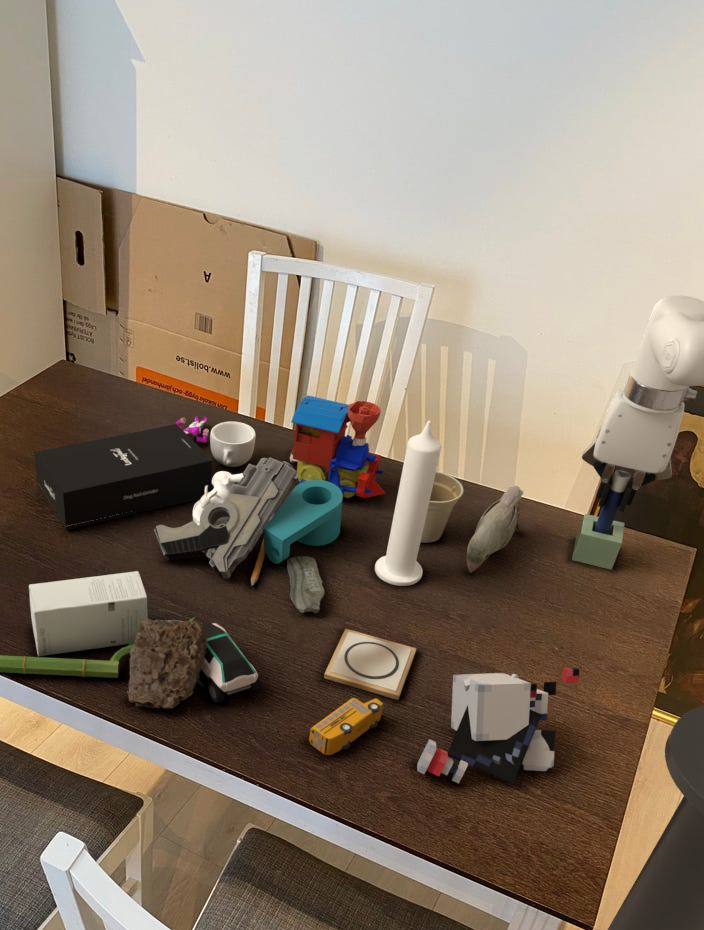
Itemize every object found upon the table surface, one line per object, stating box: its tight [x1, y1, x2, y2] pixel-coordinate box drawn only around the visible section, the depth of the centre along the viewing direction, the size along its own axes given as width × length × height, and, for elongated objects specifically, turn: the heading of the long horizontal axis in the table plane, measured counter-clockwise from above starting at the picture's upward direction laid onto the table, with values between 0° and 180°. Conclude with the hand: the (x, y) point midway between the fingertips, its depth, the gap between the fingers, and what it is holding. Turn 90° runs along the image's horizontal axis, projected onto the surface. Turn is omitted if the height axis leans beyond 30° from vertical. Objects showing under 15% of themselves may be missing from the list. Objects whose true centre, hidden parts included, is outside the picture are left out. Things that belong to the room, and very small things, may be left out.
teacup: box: [209, 421, 257, 468], centre depth 160 cm, size 10×8×5 cm
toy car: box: [200, 622, 260, 703], centre depth 120 cm, size 6×12×5 cm, turn 27°
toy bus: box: [308, 697, 384, 756], centre depth 114 cm, size 3×10×4 cm
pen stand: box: [571, 513, 626, 571], centre depth 145 cm, size 6×6×5 cm
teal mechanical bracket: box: [263, 480, 344, 565], centre depth 143 cm, size 7×15×8 cm
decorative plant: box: [0, 616, 205, 688], centre depth 121 cm, size 6×8×30 cm
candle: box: [374, 420, 442, 587], centre depth 132 cm, size 7×7×25 cm
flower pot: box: [420, 470, 464, 544], centre depth 146 cm, size 9×9×9 cm
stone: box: [286, 555, 325, 614], centre depth 136 cm, size 12×2×5 cm
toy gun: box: [153, 457, 299, 580], centre depth 140 cm, size 4×21×15 cm
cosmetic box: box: [28, 570, 149, 657], centre depth 124 cm, size 8×6×15 cm
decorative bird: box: [466, 485, 524, 573], centre depth 144 cm, size 5×16×8 cm, turn 147°
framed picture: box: [323, 628, 417, 701], centre depth 124 cm, size 10×10×1 cm
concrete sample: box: [126, 618, 207, 710], centre depth 117 cm, size 12×10×5 cm
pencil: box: [250, 513, 275, 587], centre depth 143 cm, size 1×1×19 cm
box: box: [33, 423, 213, 531], centre depth 151 cm, size 25×14×7 cm, turn 117°
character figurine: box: [175, 415, 210, 444], centre depth 166 cm, size 6×5×12 cm
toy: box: [416, 667, 580, 786], centre depth 112 cm, size 12×17×15 cm
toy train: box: [290, 394, 386, 499], centre depth 153 cm, size 10×16×15 cm, turn 68°
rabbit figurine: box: [192, 470, 244, 525], centre depth 144 cm, size 12×8×10 cm, turn 149°
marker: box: [594, 469, 632, 535], centre depth 141 cm, size 2×2×13 cm
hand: (611, 503), depth 140 cm, fingers closed on marker, 2 cm apart
